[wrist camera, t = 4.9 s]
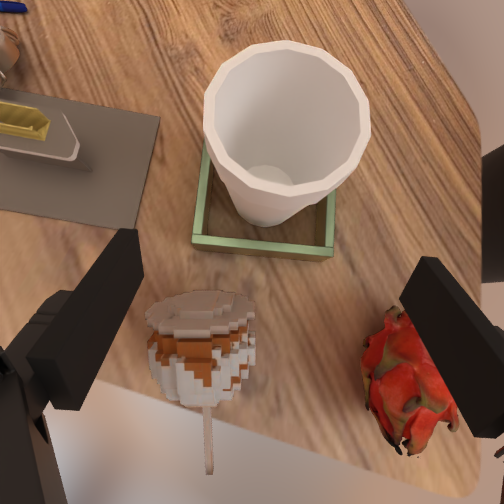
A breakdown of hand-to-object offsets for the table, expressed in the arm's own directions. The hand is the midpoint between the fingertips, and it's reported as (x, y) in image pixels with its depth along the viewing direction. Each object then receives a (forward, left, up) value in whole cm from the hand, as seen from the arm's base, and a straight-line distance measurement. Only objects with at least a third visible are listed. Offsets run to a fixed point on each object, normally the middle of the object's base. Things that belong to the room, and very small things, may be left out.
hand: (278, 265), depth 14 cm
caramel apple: (+4, +2, -8) cm, 10 cm away
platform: (+20, -10, -14) cm, 27 cm away
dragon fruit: (-13, +6, -14) cm, 20 cm away
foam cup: (0, -9, -14) cm, 16 cm away
